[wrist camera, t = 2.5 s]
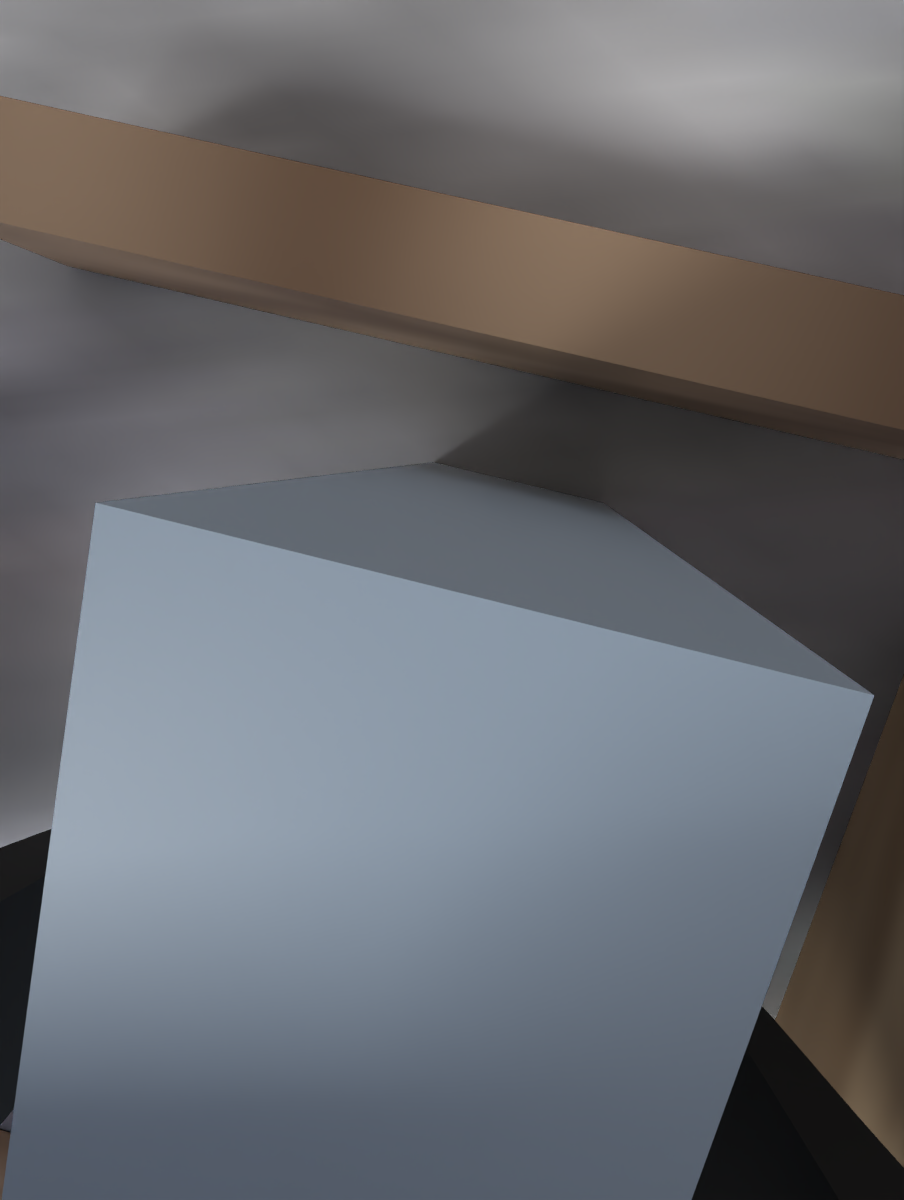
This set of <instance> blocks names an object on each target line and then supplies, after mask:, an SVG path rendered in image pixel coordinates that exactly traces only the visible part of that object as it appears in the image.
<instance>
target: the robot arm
mask: <svg viewBox="0 0 904 1200" xmlns="http://www.w3.org/2000/svg"><path fill="white" fill-rule="evenodd" d="M51 830H52V829H50V830H47V831H45V832H42V833H39V834H36V835H34V836H31V837H28V838H26V839H23V840H20V841H18V842H15V843H12V844H10V845H7V846H4V847H2V848H0V1125H1V1124H2V1122H3V1121H4V1120H5V1119H6V1117H7V1116H8V1115H9V1114H10V1112H11V1111H12V1110H13V1109H14V1104H15V1097H16V1089H17V1082H18V1074H19V1067H20V1060H21V1052H22V1045H23V1037H24V1030H25V1022H26V1015H27V1008H28V1000H29V993H30V985H31V978H32V971H33V963H34V956H35V948H36V941H37V933H38V926H39V919H40V911H41V904H42V896H43V889H44V882H45V874H46V867H47V859H48V852H49V844H50V837H51ZM692 1200H904V1167H903V1166H902V1165H901V1164H900V1163H899V1162H898V1161H897V1160H896V1158H895V1157H894V1156H893V1155H892V1154H891V1153H890V1152H889V1151H888V1149H887V1148H886V1147H885V1146H884V1145H883V1144H882V1143H881V1142H880V1141H879V1139H878V1138H877V1137H876V1136H875V1135H874V1134H873V1133H872V1131H871V1130H870V1129H869V1128H868V1127H867V1126H866V1125H865V1124H864V1122H863V1121H862V1120H861V1119H860V1118H859V1117H858V1116H857V1114H856V1113H855V1112H854V1111H853V1110H852V1109H851V1108H850V1106H849V1105H848V1104H847V1103H846V1102H845V1101H844V1099H843V1098H842V1097H841V1096H840V1095H839V1094H838V1093H837V1091H836V1090H835V1089H834V1088H833V1087H832V1086H831V1084H830V1083H829V1082H828V1081H827V1080H826V1079H825V1077H824V1076H823V1075H822V1074H821V1073H820V1072H819V1071H818V1069H817V1068H816V1067H815V1066H814V1065H813V1064H812V1062H811V1061H810V1060H809V1059H808V1058H807V1057H806V1055H805V1054H804V1053H803V1052H802V1051H801V1050H800V1048H799V1047H798V1046H797V1045H796V1044H795V1043H794V1042H793V1040H792V1039H791V1038H790V1037H789V1036H788V1035H787V1034H786V1032H785V1031H784V1030H783V1029H782V1028H781V1027H780V1026H779V1024H778V1023H777V1022H776V1021H775V1020H774V1019H773V1018H772V1017H771V1016H770V1014H769V1013H768V1012H767V1011H766V1010H765V1009H764V1008H763V1007H761V1010H760V1012H759V1015H758V1018H757V1021H756V1023H755V1026H754V1029H753V1032H752V1034H751V1037H750V1040H749V1043H748V1045H747V1048H746V1051H745V1054H744V1056H743V1059H742V1062H741V1065H740V1067H739V1070H738V1073H737V1076H736V1078H735V1081H734V1084H733V1087H732V1089H731V1092H730V1095H729V1098H728V1100H727V1103H726V1106H725V1109H724V1111H723V1114H722V1117H721V1120H720V1122H719V1125H718V1128H717V1131H716V1134H715V1136H714V1139H713V1142H712V1145H711V1147H710V1150H709V1153H708V1156H707V1158H706V1161H705V1164H704V1167H703V1169H702V1172H701V1175H700V1178H699V1180H698V1183H697V1186H696V1189H695V1191H694V1194H693V1197H692Z"/></svg>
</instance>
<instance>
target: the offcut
mask: <svg viewBox="0 0 904 1200" xmlns="http://www.w3.org/2000/svg"><path fill="white" fill-rule="evenodd" d="M775 1021H776V1022H777V1023H778V1024H779V1026H780V1027H781V1028H782V1029H783V1030H784V1031H785V1032H786V1034H787V1035H788V1036H789V1037H790V1038H791V1039H792V1040H793V1042H794V1043H795V1044H796V1045H797V1046H798V1047H799V1048H800V1050H801V1051H802V1052H803V1053H804V1054H805V1055H806V1057H807V1058H808V1059H809V1060H810V1061H811V1062H812V1064H813V1065H814V1066H815V1067H816V1068H817V1069H818V1071H819V1072H820V1073H821V1074H822V1075H823V1076H824V1077H825V1079H826V1080H827V1081H828V1082H829V1083H830V1084H831V1086H832V1087H833V1088H834V1089H835V1090H836V1091H837V1093H838V1094H839V1095H840V1096H841V1097H842V1098H843V1099H844V1101H845V1102H846V1103H847V1104H848V1105H849V1106H850V1108H851V1109H852V1110H853V1111H854V1112H855V1113H856V1114H857V1116H858V1117H859V1118H860V1119H861V1120H862V1121H863V1122H864V1124H865V1125H866V1126H867V1127H868V1128H869V1129H870V1130H871V1131H872V1133H873V1134H874V1135H875V1136H876V1137H877V1138H878V1139H879V1141H880V1142H881V1143H882V1144H883V1145H884V1146H885V1147H886V1148H887V1149H888V1151H889V1152H890V1153H891V1154H892V1155H893V1156H894V1157H895V1158H896V1160H897V1161H898V1162H899V1163H900V1164H901V1165H902V1166H903V1167H904V675H903V678H902V680H901V683H900V686H899V688H898V691H897V694H896V697H895V699H894V702H893V705H892V707H891V710H890V713H889V715H888V718H887V721H886V723H885V726H884V729H883V732H882V734H881V737H880V740H879V742H878V745H877V748H876V750H875V753H874V756H873V758H872V761H871V764H870V766H869V769H868V772H867V775H866V777H865V780H864V783H863V785H862V788H861V791H860V793H859V796H858V799H857V801H856V804H855V807H854V810H853V812H852V815H851V818H850V820H849V823H848V826H847V828H846V831H845V834H844V836H843V839H842V842H841V844H840V847H839V850H838V853H837V855H836V858H835V861H834V863H833V866H832V869H831V871H830V874H829V877H828V879H827V882H826V885H825V888H824V890H823V893H822V896H821V898H820V901H819V904H818V906H817V909H816V912H815V914H814V917H813V920H812V922H811V925H810V928H809V931H808V933H807V936H806V939H805V941H804V944H803V947H802V949H801V952H800V955H799V957H798V960H797V963H796V966H795V968H794V971H793V974H792V976H791V979H790V982H789V984H788V987H787V990H786V992H785V995H784V998H783V1001H782V1003H781V1006H780V1009H779V1011H778V1014H777V1017H776V1019H775Z"/></svg>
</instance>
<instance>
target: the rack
mask: <svg viewBox="0 0 904 1200" xmlns="http://www.w3.org/2000/svg"><path fill="white" fill-rule="evenodd" d="M0 239H1V240H4V241H6V242H9V243H11V244H14V245H16V246H19V247H21V248H24V249H26V250H29V251H31V252H34V253H36V254H39V255H41V256H44V257H46V258H49V259H51V260H54V261H56V262H59V263H61V264H64V265H66V266H70V267H74V268H78V269H83V270H87V271H91V272H96V273H100V274H104V275H109V276H113V277H117V278H121V279H126V280H130V281H134V282H139V283H143V284H147V285H152V286H156V287H160V288H165V289H169V290H173V291H178V292H182V293H186V294H191V295H195V296H199V297H204V298H208V299H212V300H216V301H221V302H225V303H229V304H234V305H238V306H242V307H247V308H251V309H255V310H260V311H264V312H268V313H273V314H277V315H281V316H286V317H290V318H294V319H299V320H303V321H307V322H311V323H316V324H320V325H324V326H329V327H333V328H337V329H342V330H346V331H350V332H355V333H359V334H363V335H368V336H372V337H376V338H381V339H385V340H389V341H394V342H398V343H402V344H407V345H411V346H415V347H419V348H424V349H428V350H432V351H437V352H441V353H445V354H450V355H454V356H458V357H463V358H467V359H471V360H476V361H480V362H484V363H489V364H493V365H497V366H502V367H506V368H510V369H514V370H519V371H523V372H527V373H532V374H536V375H540V376H545V377H549V378H553V379H558V380H562V381H566V382H571V383H575V384H579V385H584V386H588V387H592V388H597V389H601V390H605V391H609V392H614V393H618V394H622V395H627V396H631V397H635V398H640V399H644V400H648V401H653V402H657V403H661V404H666V405H670V406H674V407H679V408H683V409H687V410H692V411H696V412H700V413H705V414H709V415H713V416H717V417H722V418H726V419H730V420H735V421H739V422H743V423H748V424H752V425H756V426H761V427H765V428H769V429H774V430H778V431H782V432H787V433H791V434H795V435H800V436H804V437H808V438H812V439H817V440H821V441H825V442H830V443H834V444H838V445H843V446H847V447H851V448H856V449H860V450H864V451H869V452H873V453H877V454H882V455H886V456H890V457H895V458H899V459H903V460H904V295H900V294H895V293H891V292H886V291H882V290H877V289H872V288H868V287H863V286H859V285H854V284H850V283H845V282H841V281H836V280H832V279H827V278H823V277H818V276H814V275H809V274H805V273H800V272H795V271H791V270H786V269H782V268H777V267H773V266H768V265H764V264H759V263H755V262H750V261H746V260H741V259H737V258H732V257H728V256H723V255H718V254H714V253H709V252H705V251H700V250H696V249H691V248H687V247H682V246H678V245H673V244H669V243H664V242H660V241H655V240H651V239H646V238H641V237H637V236H632V235H628V234H623V233H619V232H614V231H610V230H605V229H601V228H596V227H592V226H587V225H583V224H578V223H574V222H569V221H565V220H560V219H555V218H551V217H546V216H542V215H537V214H533V213H528V212H524V211H519V210H515V209H510V208H506V207H501V206H497V205H492V204H488V203H483V202H478V201H474V200H469V199H465V198H460V197H456V196H451V195H447V194H442V193H438V192H433V191H429V190H424V189H420V188H415V187H411V186H406V185H401V184H397V183H392V182H388V181H383V180H379V179H374V178H370V177H365V176H361V175H356V174H352V173H347V172H343V171H338V170H334V169H329V168H324V167H320V166H315V165H311V164H306V163H302V162H297V161H293V160H288V159H284V158H279V157H275V156H270V155H266V154H261V153H257V152H252V151H247V150H243V149H238V148H234V147H229V146H225V145H220V144H216V143H211V142H207V141H202V140H198V139H193V138H189V137H184V136H180V135H175V134H170V133H166V132H161V131H157V130H152V129H148V128H143V127H139V126H134V125H130V124H125V123H121V122H116V121H112V120H107V119H103V118H98V117H93V116H89V115H84V114H80V113H75V112H71V111H66V110H62V109H57V108H53V107H48V106H44V105H39V104H35V103H30V102H26V101H21V100H16V99H12V98H7V97H3V96H0ZM10 1134H11V1133H9V1132H6V1131H2V1130H0V1200H2V1193H3V1186H4V1178H5V1171H6V1163H7V1156H8V1149H9V1141H10Z"/></svg>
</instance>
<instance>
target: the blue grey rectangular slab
mask: <svg viewBox="0 0 904 1200" xmlns="http://www.w3.org/2000/svg"><path fill="white" fill-rule="evenodd" d="M873 698H874V695H873V694H872V693H870V692H869V691H868V690H866V689H865V688H863V687H862V686H861V685H859V684H858V683H856V682H855V681H854V680H852V679H851V678H849V677H848V676H847V675H845V674H844V673H842V672H841V671H839V670H838V669H837V668H835V667H834V666H832V665H831V664H830V663H828V662H827V661H825V660H824V659H823V658H821V657H820V656H818V655H817V654H816V653H814V652H813V651H811V650H810V649H808V648H807V647H806V646H804V645H803V644H801V643H800V642H799V641H797V640H796V639H794V638H793V637H792V636H790V635H789V634H787V633H786V632H784V631H783V630H782V629H780V628H779V627H777V626H776V625H775V624H773V623H772V622H770V621H769V620H768V619H766V618H765V617H763V616H762V615H761V614H759V613H758V612H756V611H755V610H753V609H752V608H751V607H749V606H748V605H746V604H745V603H744V602H742V601H741V600H739V599H738V598H737V597H735V596H734V595H732V594H731V593H730V592H728V591H727V590H725V589H724V588H722V587H721V586H720V585H718V584H717V583H715V582H714V581H713V580H711V579H710V578H708V577H707V576H706V575H704V574H703V573H701V572H700V571H699V570H697V569H696V568H694V567H693V566H691V565H690V564H689V563H687V562H686V561H684V560H683V559H682V558H680V557H679V556H677V555H676V554H675V553H673V552H672V551H670V550H669V549H667V548H666V547H665V546H663V545H662V544H660V543H659V542H658V541H656V540H655V539H653V538H652V537H651V536H649V535H648V534H646V533H645V532H644V531H642V530H641V529H639V528H638V527H636V526H635V525H634V524H632V523H631V522H629V521H628V520H627V519H625V518H624V517H622V516H621V515H620V514H618V513H617V512H615V511H614V510H613V509H611V508H610V507H608V506H607V505H605V504H604V503H602V502H597V501H593V500H589V499H585V498H581V497H577V496H572V495H568V494H564V493H560V492H556V491H551V490H547V489H543V488H539V487H535V486H530V485H526V484H522V483H518V482H514V481H510V480H505V479H501V478H497V477H493V476H489V475H484V474H480V473H476V472H472V471H468V470H464V469H459V468H455V467H451V466H447V465H443V464H438V463H434V462H432V463H423V464H415V465H406V466H398V467H390V468H381V469H373V470H365V471H356V472H348V473H340V474H331V475H323V476H314V477H306V478H298V479H289V480H281V481H273V482H264V483H256V484H247V485H239V486H231V487H222V488H214V489H206V490H197V491H189V492H181V493H172V494H164V495H155V496H147V497H139V498H130V499H122V500H114V501H105V502H97V503H95V511H94V518H93V525H92V533H91V540H90V548H89V555H88V563H87V570H86V577H85V585H84V592H83V600H82V607H81V614H80V622H79V629H78V637H77V644H76V652H75V659H74V666H73V674H72V681H71V689H70V696H69V703H68V711H67V718H66V726H65V733H64V741H63V748H62V755H61V763H60V770H59V778H58V785H57V792H56V800H55V807H54V815H53V822H52V830H51V837H50V844H49V852H48V859H47V867H46V874H45V882H44V889H43V896H42V904H41V911H40V919H39V926H38V933H37V941H36V948H35V956H34V963H33V971H32V978H31V985H30V993H29V1000H28V1008H27V1015H26V1022H25V1030H24V1037H23V1045H22V1052H21V1060H20V1067H19V1074H18V1082H17V1089H16V1097H15V1104H14V1111H13V1119H12V1126H11V1134H10V1141H9V1149H8V1156H7V1163H6V1171H5V1178H4V1186H3V1193H2V1200H692V1197H693V1194H694V1191H695V1189H696V1186H697V1183H698V1180H699V1178H700V1175H701V1172H702V1169H703V1167H704V1164H705V1161H706V1158H707V1156H708V1153H709V1150H710V1147H711V1145H712V1142H713V1139H714V1136H715V1134H716V1131H717V1128H718V1125H719V1122H720V1120H721V1117H722V1114H723V1111H724V1109H725V1106H726V1103H727V1100H728V1098H729V1095H730V1092H731V1089H732V1087H733V1084H734V1081H735V1078H736V1076H737V1073H738V1070H739V1067H740V1065H741V1062H742V1059H743V1056H744V1054H745V1051H746V1048H747V1045H748V1043H749V1040H750V1037H751V1034H752V1032H753V1029H754V1026H755V1023H756V1021H757V1018H758V1015H759V1012H760V1010H761V1007H762V1004H763V1001H764V998H765V996H766V993H767V990H768V987H769V985H770V982H771V979H772V976H773V974H774V971H775V968H776V965H777V963H778V960H779V957H780V954H781V952H782V949H783V946H784V943H785V941H786V938H787V935H788V932H789V930H790V927H791V924H792V921H793V919H794V916H795V913H796V910H797V908H798V905H799V902H800V899H801V897H802V894H803V891H804V888H805V886H806V883H807V880H808V877H809V874H810V872H811V869H812V866H813V863H814V861H815V858H816V855H817V852H818V850H819V847H820V844H821V841H822V839H823V836H824V833H825V830H826V828H827V825H828V822H829V819H830V817H831V814H832V811H833V808H834V806H835V803H836V800H837V797H838V795H839V792H840V789H841V786H842V784H843V781H844V778H845V775H846V773H847V770H848V767H849V764H850V762H851V759H852V756H853V753H854V750H855V748H856V745H857V742H858V739H859V737H860V734H861V731H862V728H863V726H864V723H865V720H866V717H867V715H868V712H869V709H870V706H871V704H872V701H873Z"/></svg>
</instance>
